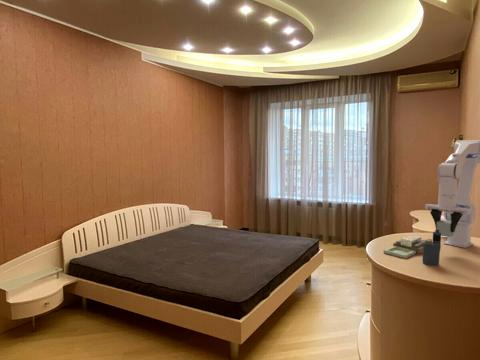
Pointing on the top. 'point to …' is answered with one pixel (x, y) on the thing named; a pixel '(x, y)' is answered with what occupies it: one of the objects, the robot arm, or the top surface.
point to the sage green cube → (444, 228)
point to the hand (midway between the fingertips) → (445, 230)
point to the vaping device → (432, 249)
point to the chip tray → (399, 252)
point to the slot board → (416, 247)
